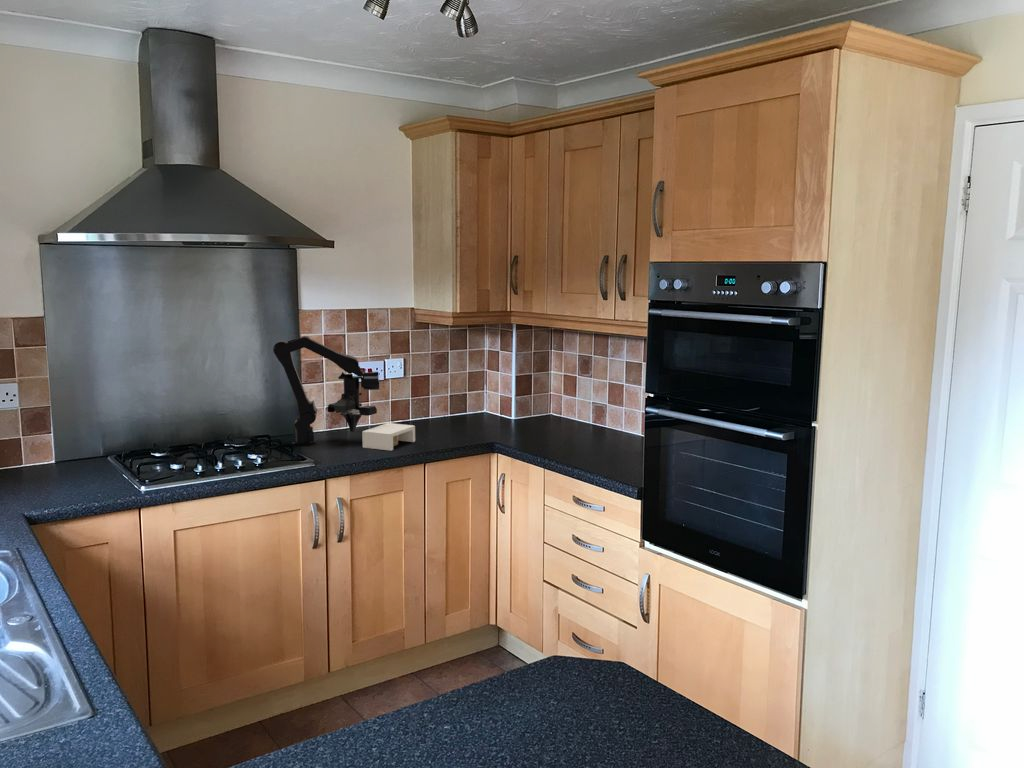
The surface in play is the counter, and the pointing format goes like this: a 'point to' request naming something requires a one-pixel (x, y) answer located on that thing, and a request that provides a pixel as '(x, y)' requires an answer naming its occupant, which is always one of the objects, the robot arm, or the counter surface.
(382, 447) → the shelf
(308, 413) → the robot arm
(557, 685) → the counter surface
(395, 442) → the brown wooden box
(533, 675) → the counter surface
